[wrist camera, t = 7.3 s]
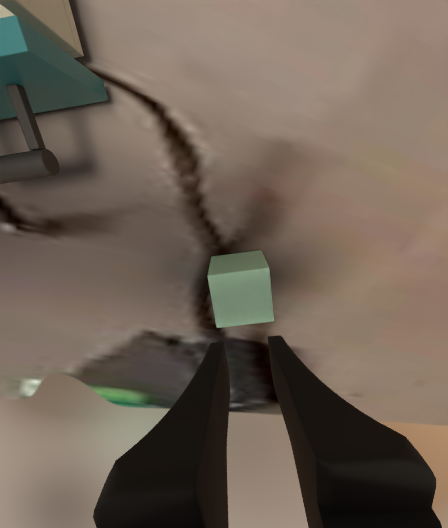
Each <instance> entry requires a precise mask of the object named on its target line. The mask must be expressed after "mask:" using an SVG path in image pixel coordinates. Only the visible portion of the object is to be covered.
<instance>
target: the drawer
mask: <svg viewBox="0 0 448 528" xmlns="http://www.w3.org/2000/svg"><path fill="white" fill-rule="evenodd" d="M82 56H84V55H83V51H82V48H81V44H80V40H79V37H78V33H77V29H76V26H75V22H74V18H73V15H72V11H71V7H70V4H69V0H0V120H1V119H6V118H12V117H17V118H18V120H19V123H20V126H21V128H22V131H23V134H24V136H25V139H26V142H27V144H28V147H29V149H30V150H33V151H28V152H22V153H16V154H10V155H4V156H0V184H2V183H8V182H14V181H20V180H27V179H33V178H39V177H45V176H51V175H56V174H57V173H58V172H59V164H58V161H57V159H56V157H55V155H54V154H53V153H52V152H51V151H49V150H47V149H46V148H45V145H44V142H43V140H42V137H41V134H40V131H39V128H38V125H37V123H36V120H35V117H34V113H40V112H46V111H51V110H57V109H62V108H68V107H74V106H79V105H85V104H90V103H96V102H102V101H107V100H108V98H107V94H106V90H105V87H104V83H103V80H102V79H100V78H99V77H98V76H97V75H95V74H94V73H93V72H91V71H90V70H89V69H87V68H86V67H85V66H83V65H82V64H81V63H79V62H78V61H77V60H75V59H74V58H77V57H82Z"/></svg>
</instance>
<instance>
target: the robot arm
mask: <svg viewBox="0 0 448 528" xmlns="http://www.w3.org/2000/svg"><path fill="white" fill-rule="evenodd" d="M268 343H269V353H270V363H271V371H272V376H273V382H274V387H275V391H276V394H277V398H278V401H279V404H280V408H281V411H282V414H283V417H284V421H285V424H286V427H287V430H288V434H289V438H290V441H291V445H292V450H293V455H294V459H295V464H296V469H297V473H298V478H299V483H300V488H301V493H302V497H303V502H304V507H305V512H306V517H307V522H308V526H309V528H442V526H441V523H440V521H439V519H438V518H437V516H436V514H435V513H434V511H433V510H432V508H431V507H432V503H433V498H434V494H435V489H436V478H435V476H434V474H433V472H432V470H431V469H430V467H429V466H428V465H427V463H426V462H425V460H424V459H423V458H422V456H421V455H420V454H419V452H418V451H417V450H416V449H415V448H414V446H413V445H412V444H411V443H410V442H409V440H407V438H406V437H405V436H403V435H401V434H399V433H398V432H396V431H394V430H392V429H390V428H388V427H386V426H385V425H383V424H381V423H379V422H377V421H376V420H374V419H372V418H371V417H369V416H367V415H366V414H364V413H363V412H361V411H359V410H358V409H357V408H355V407H354V406H352V405H351V404H349V403H348V402H347V401H345V400H344V399H342V398H341V397H340V396H338V395H337V394H336V393H335V392H333V391H332V390H331V389H330V388H329V387H327V386H326V385H325V384H324V383H323V382H322V381H320V380H319V379H318V378H317V377H316V376H315V375H314V374H313V373H312V372H311V371H310V370H309V369H308V368H307V367H306V366H305V365H304V364H303V363H302V361H301V360H300V359H299V358H298V357H297V356H296V355H295V354H294V352H293V351H292V350H291V349H290V347H289V346H288V345H287V343H286V342H285V341H284V339H283V337H281V336H271V337H268ZM229 399H230V384H229V371H228V365H227V359H226V353H225V348H224V342H216V343H211V344H210V346H209V348H208V351H207V353H206V355H205V357H204V359H203V361H202V363H201V365H200V366H199V368H198V370H197V372H196V374H195V375H194V377H193V378H192V380H191V382H190V383H189V385H188V386H187V388H186V389H185V391H184V392H183V394H182V395H181V396H180V398H179V399H178V400H177V402H176V403H175V404H174V405H173V407H172V408H171V409H170V410H169V411H168V413H167V414H166V415H165V416H164V417H163V418H162V419H161V420H160V421H159V423H158V424H157V425H156V426H155V427H154V428H153V429H152V430H151V431H150V432H149V433H148V434H147V435H145V437H143V438H142V439H141V440H140V441H139V442H138V443H137V444H135V445H134V446H133V447H132V448H131V449H130V450H128V451H127V452H126V453H125V454H124V455H122V456H121V457H120V458H119V459H118V460H116V461H115V463H114V466H113V468H112V469H111V471H110V473H109V475H108V477H107V480H106V482H105V484H104V487H103V489H102V492H101V495H100V497H99V499H98V502H97V505H96V507H95V509H94V515H93V518H94V521H95V524H96V527H97V528H228V500H227V499H228V496H227V452H226V451H227V450H226V449H227V448H226V447H227V429H228V415H229Z"/></svg>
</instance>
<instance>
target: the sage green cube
mask: <svg viewBox="0 0 448 528" xmlns="http://www.w3.org/2000/svg"><path fill="white" fill-rule="evenodd" d="M207 277H208V282H209V288H210V293H211V299H212V304H213V310H214V315H215V321H216V327H217V328H220V327H229V326H238V325H246V324H255V323H264V322H273V321H274V315H273V304H272V293H271V282H270V271H269V266H268V264H267V262H266V260H265V257H264V255H263V253H262V250H257V251H250V252H242V253H235V254H227V255H220V256H212V257H211V261H210V266H209V271H208V276H207Z"/></svg>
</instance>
